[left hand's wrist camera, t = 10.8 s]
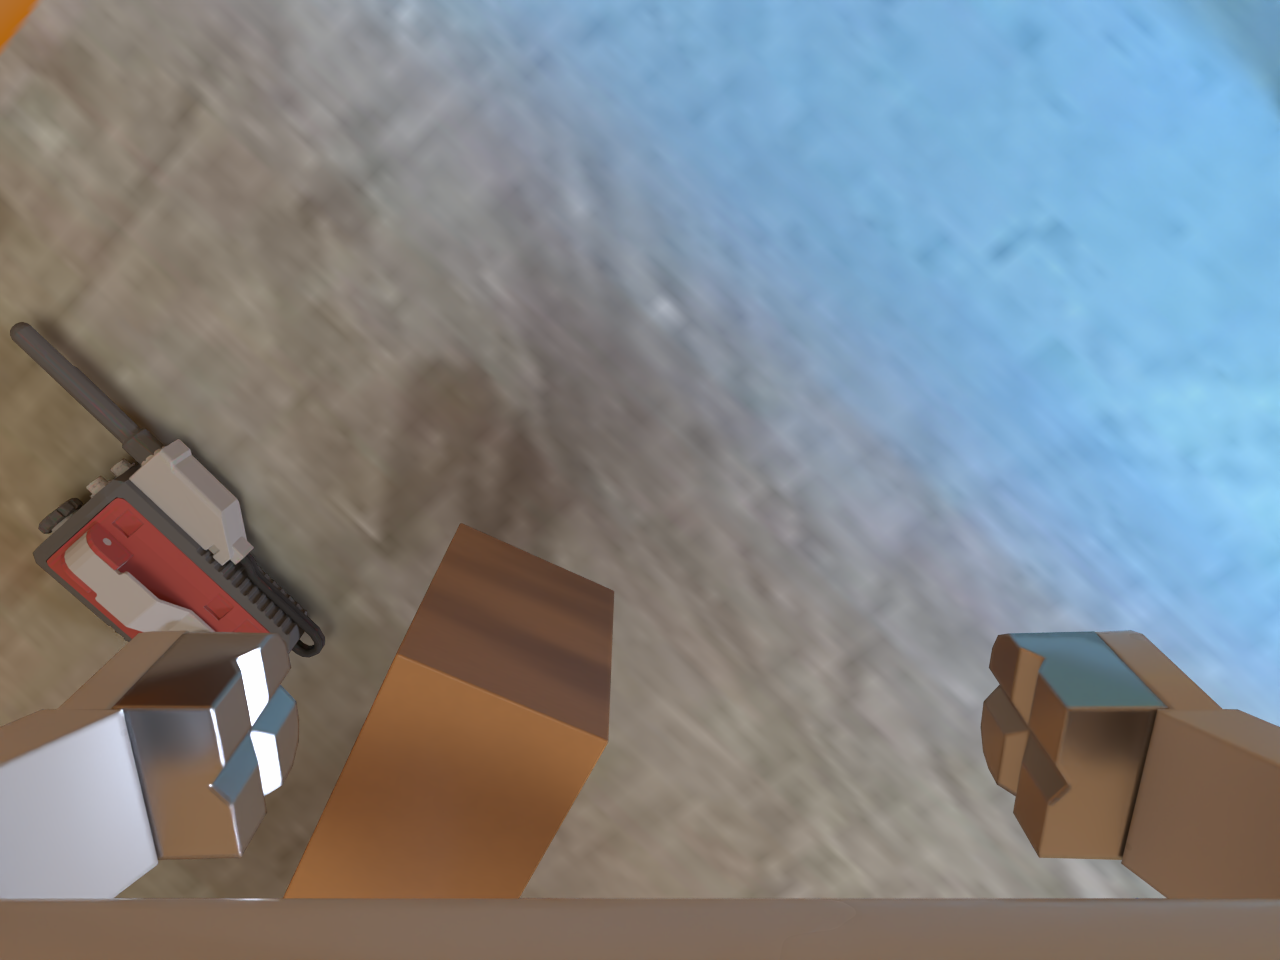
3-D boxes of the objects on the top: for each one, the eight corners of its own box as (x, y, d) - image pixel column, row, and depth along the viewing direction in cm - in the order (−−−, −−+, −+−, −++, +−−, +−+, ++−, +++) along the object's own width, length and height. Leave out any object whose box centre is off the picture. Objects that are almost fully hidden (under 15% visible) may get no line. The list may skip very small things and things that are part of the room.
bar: (460, 521, 30) (396, 653, 22) (614, 590, 31) (609, 741, 23) (211, 1058, 38) (94, 1303, 30) (340, 1100, 39) (261, 1350, 31)
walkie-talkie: (364, 609, 46) (49, 304, 40) (336, 655, 41) (-19, 322, 36) (247, 701, 47) (-68, 422, 42) (210, 753, 43) (-146, 451, 38)
